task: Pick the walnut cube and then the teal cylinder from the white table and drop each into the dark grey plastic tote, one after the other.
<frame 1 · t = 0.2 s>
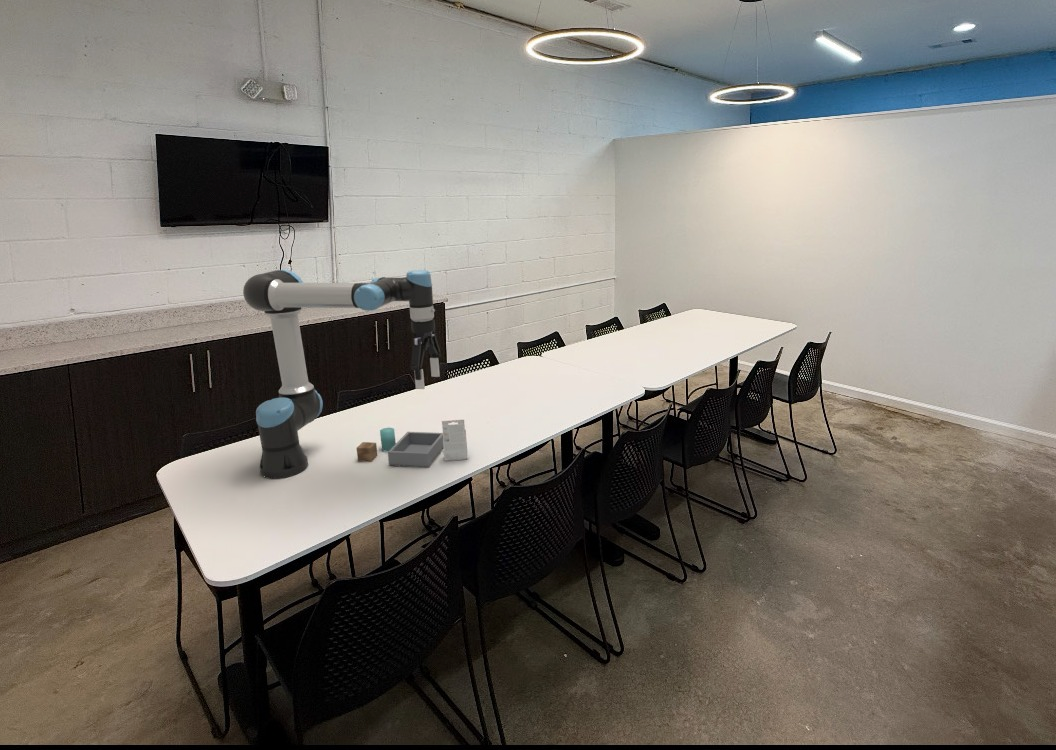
hand: (428, 382, 194), 27 cm above the table, fingers open, 13 cm apart
ink box: (456, 459, 201), on the table
tote: (418, 455, 205), on the table
cylinder: (389, 448, 212), on the table
cube: (367, 458, 204), on the table
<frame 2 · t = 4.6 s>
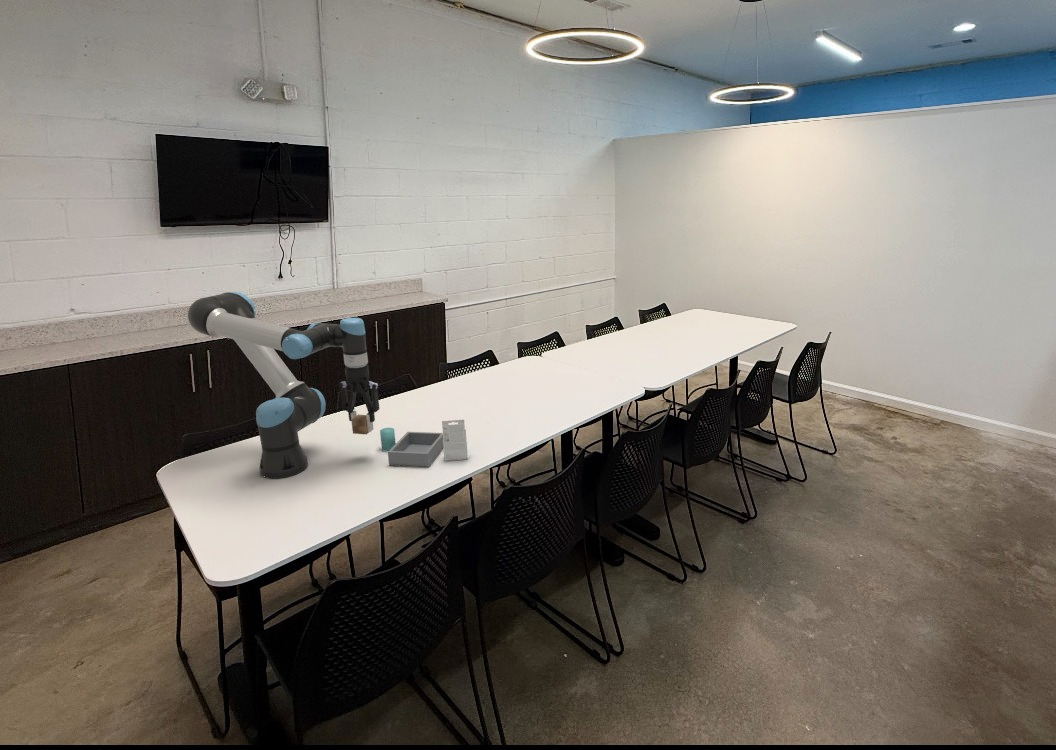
hand: (363, 429, 201), 11 cm above the table, fingers closed on cube, 5 cm apart
cube: (363, 431, 201), point 10 cm above the table, touching gripper
everything else where it was.
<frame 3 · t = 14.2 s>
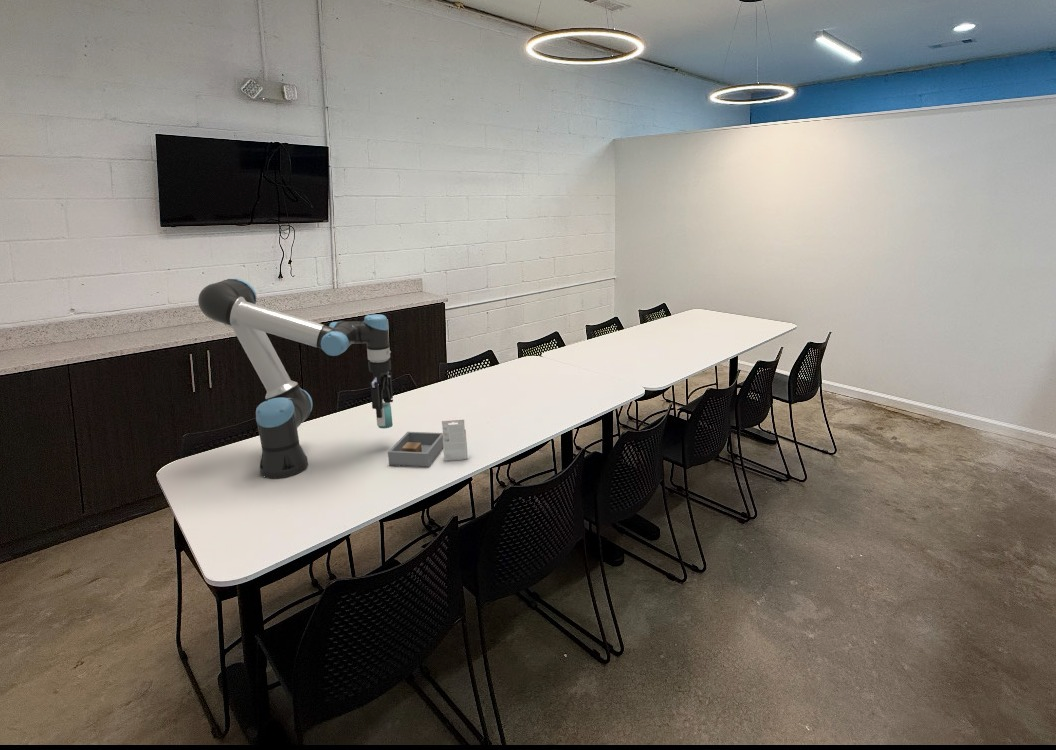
hand: (384, 422, 209), 10 cm above the table, fingers closed on cylinder, 5 cm apart
cylinder: (385, 425, 209), point 9 cm above the table, touching gripper
cube: (412, 458, 201), point 1 cm above the table, touching tote
everything else where it was.
when the fingers open (5 cm above the table, at t = 17.5 s): cylinder drops 3 cm, resting on tote.
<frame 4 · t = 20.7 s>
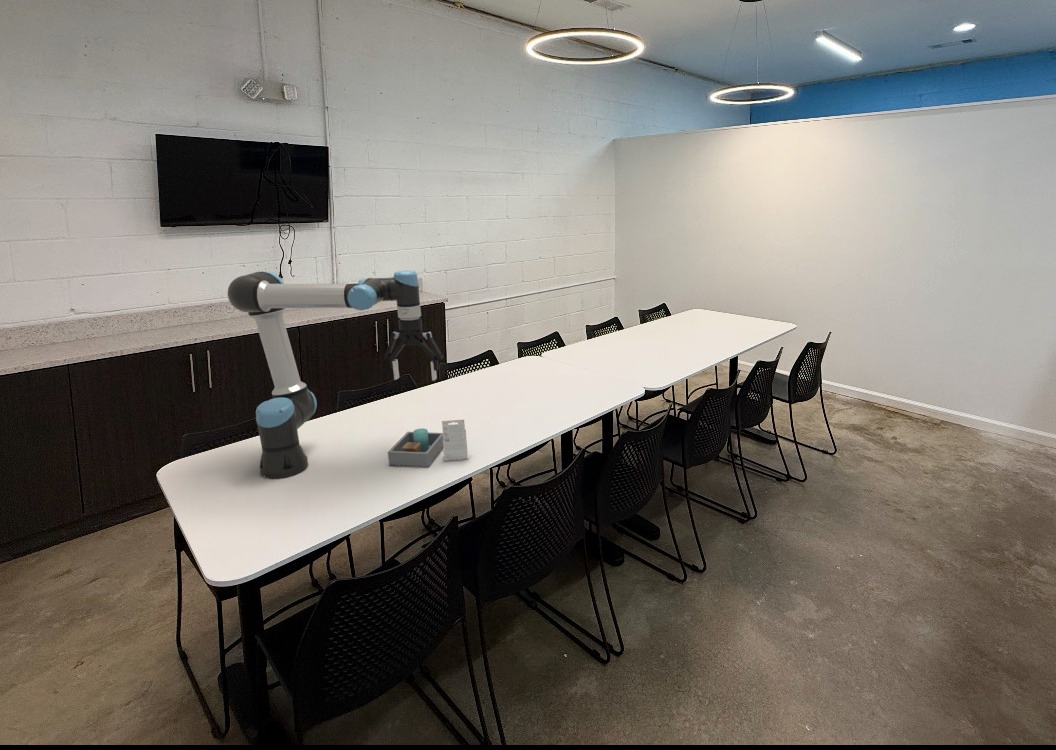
hand: (415, 379, 201), 27 cm above the table, fingers open, 13 cm apart
cylinder: (422, 449, 208), point 1 cm above the table, touching tote
everything else where it was.
at the end: cube inside the target area on the tote (4.1 cm from its centre), point 0.6 cm above the tote's base; cylinder inside the target area on the tote (3.7 cm from its centre), point 0.6 cm above the tote's base; the gripper is holding nothing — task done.
